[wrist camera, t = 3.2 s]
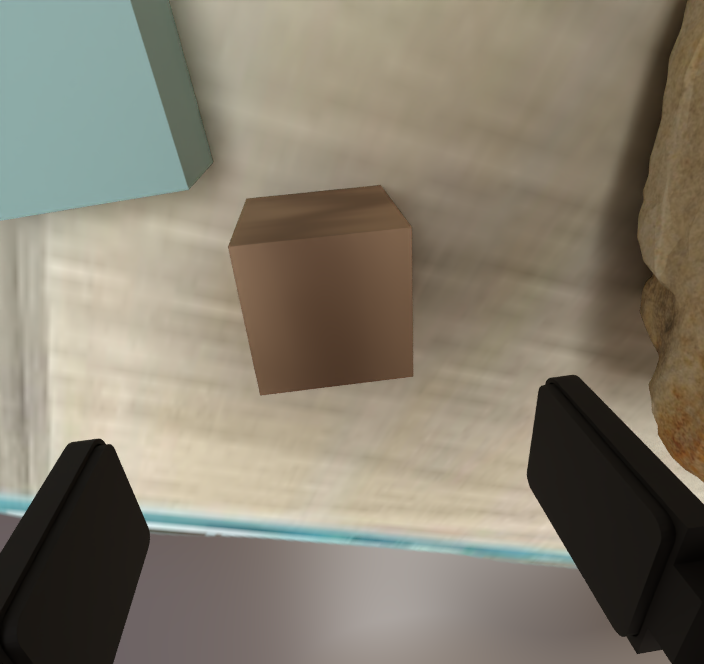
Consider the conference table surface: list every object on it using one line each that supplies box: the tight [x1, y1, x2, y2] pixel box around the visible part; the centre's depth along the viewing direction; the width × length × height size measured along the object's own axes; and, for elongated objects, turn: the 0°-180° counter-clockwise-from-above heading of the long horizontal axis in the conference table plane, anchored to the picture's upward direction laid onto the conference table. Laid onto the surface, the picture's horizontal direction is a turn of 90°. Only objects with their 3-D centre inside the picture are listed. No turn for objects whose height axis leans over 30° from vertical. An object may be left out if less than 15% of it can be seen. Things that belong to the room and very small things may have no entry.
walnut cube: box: [228, 185, 413, 395], centre depth 18 cm, size 6×6×6 cm
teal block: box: [0, 0, 213, 221], centre depth 14 cm, size 8×8×5 cm
